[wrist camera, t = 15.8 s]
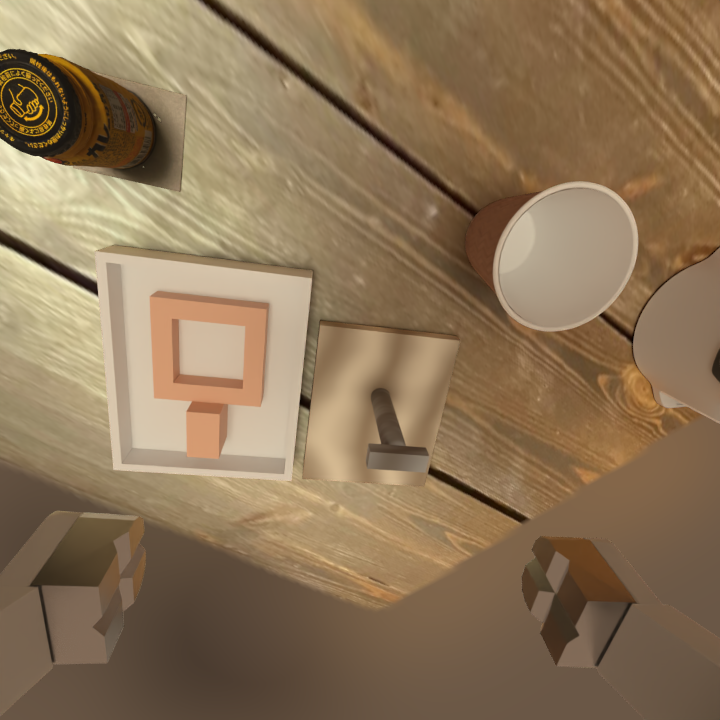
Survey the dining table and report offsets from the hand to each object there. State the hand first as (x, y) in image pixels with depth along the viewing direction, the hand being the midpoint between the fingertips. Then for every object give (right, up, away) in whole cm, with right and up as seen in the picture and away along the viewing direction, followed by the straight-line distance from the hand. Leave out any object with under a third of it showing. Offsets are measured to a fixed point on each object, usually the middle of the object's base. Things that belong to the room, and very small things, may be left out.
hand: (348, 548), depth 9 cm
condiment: (-18, +22, +26) cm, 39 cm away
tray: (-14, +3, +34) cm, 37 cm away
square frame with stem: (-14, +3, +34) cm, 37 cm away
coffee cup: (+13, +15, +32) cm, 38 cm away
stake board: (+2, -1, +38) cm, 38 cm away
